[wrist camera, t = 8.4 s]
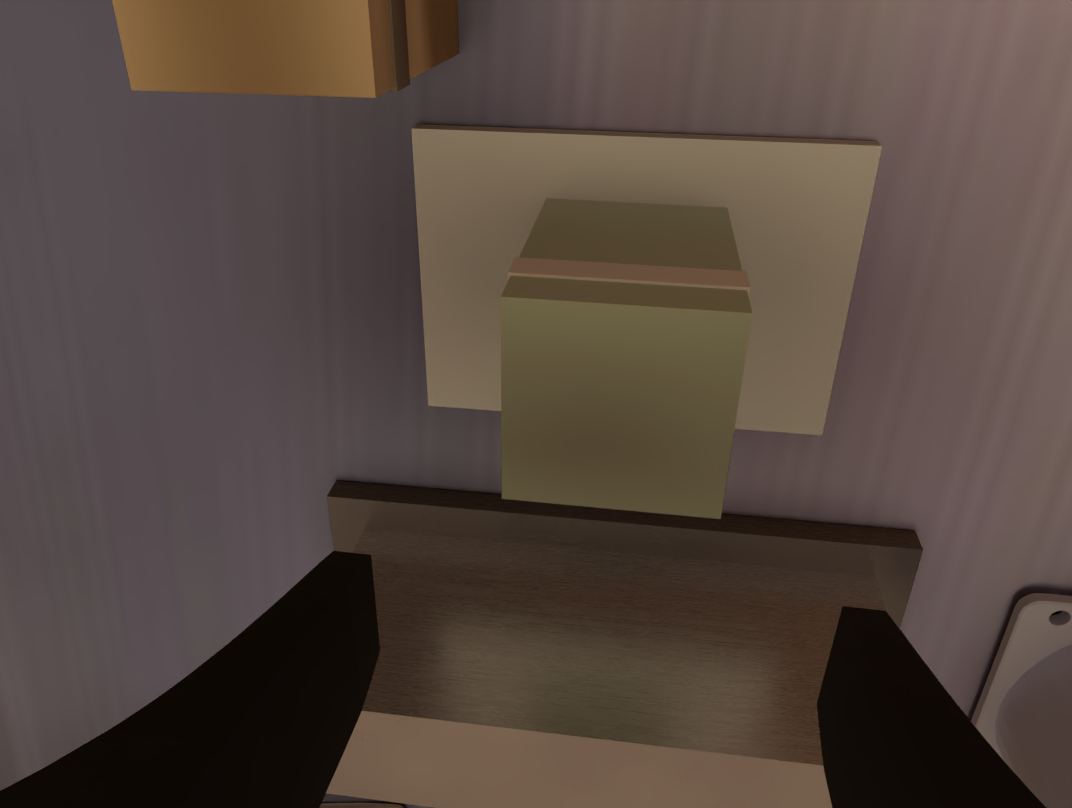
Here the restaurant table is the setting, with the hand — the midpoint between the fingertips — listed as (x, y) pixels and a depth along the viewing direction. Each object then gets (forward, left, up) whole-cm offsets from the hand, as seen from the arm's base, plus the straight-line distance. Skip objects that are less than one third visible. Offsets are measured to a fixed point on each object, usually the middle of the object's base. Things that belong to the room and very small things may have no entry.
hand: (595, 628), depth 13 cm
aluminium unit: (0, +7, -9) cm, 12 cm away
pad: (0, -2, -9) cm, 10 cm away
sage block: (0, -2, -9) cm, 9 cm away
